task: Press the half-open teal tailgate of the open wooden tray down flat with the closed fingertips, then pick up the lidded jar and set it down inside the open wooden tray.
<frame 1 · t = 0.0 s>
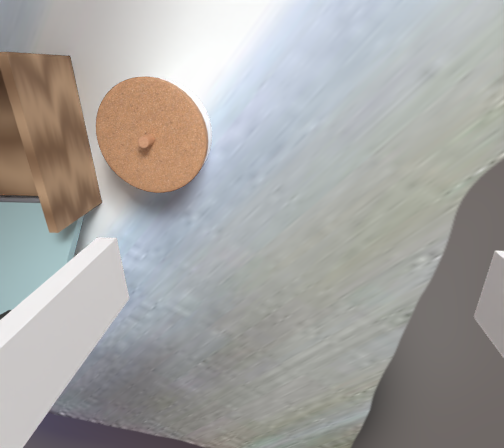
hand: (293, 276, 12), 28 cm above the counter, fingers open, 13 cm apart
lidded jar: (176, 126, 39), on the counter
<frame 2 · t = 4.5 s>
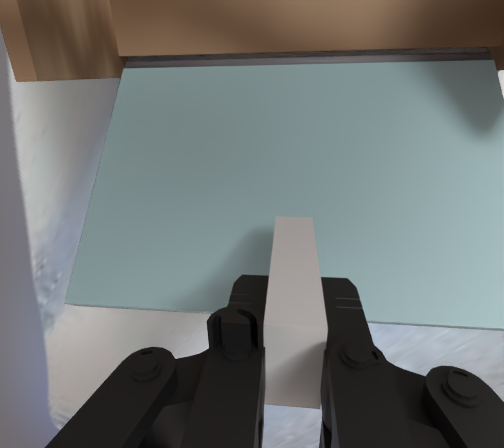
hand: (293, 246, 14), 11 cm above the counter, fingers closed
tailgate: (295, 169, 17), point 6 cm above the counter, hinge at 45.0°, touching gripper
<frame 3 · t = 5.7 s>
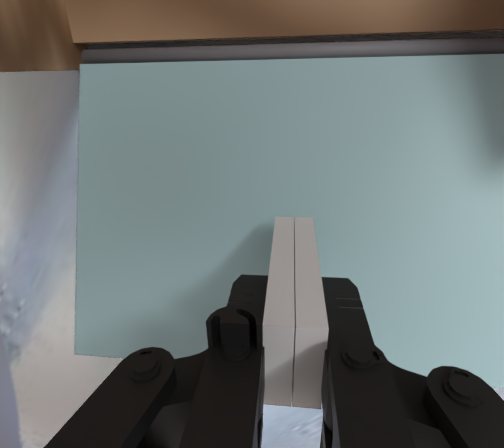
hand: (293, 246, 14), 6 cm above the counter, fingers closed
tailgate: (296, 206, 15), point 4 cm above the counter, hinge at 65.7°, touching gripper
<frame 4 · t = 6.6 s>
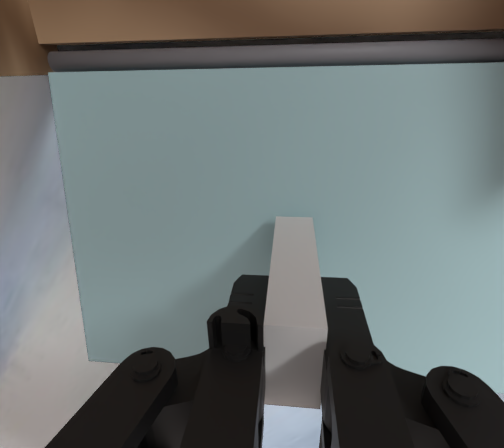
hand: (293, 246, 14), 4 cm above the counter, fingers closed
tailgate: (294, 227, 15), point 2 cm above the counter, hinge at 79.7°, touching gripper
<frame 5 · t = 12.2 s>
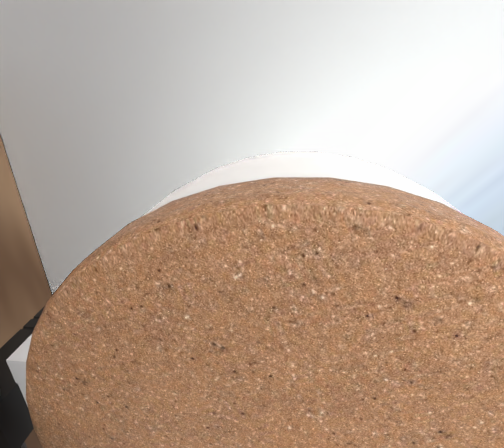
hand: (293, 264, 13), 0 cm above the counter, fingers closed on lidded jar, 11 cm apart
lidded jar: (293, 255, 13), on the counter, touching gripper
when the fingers open (4 cm above the counter, at t = 18.6 s): lidded jar drops 2 cm, resting on open wooden tray.
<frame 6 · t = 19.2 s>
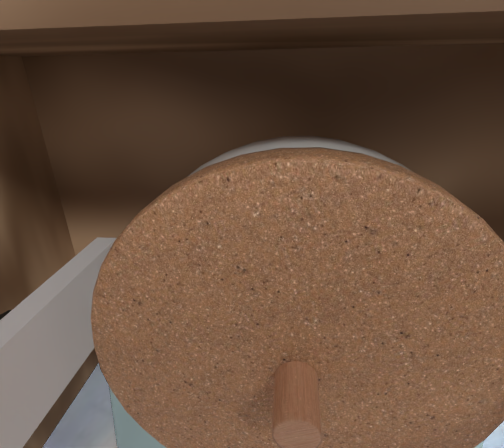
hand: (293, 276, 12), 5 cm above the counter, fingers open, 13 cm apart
lidded jar: (294, 231, 15), point 1 cm above the counter, touching open wooden tray
open wooden tray: (293, 222, 16), on the counter
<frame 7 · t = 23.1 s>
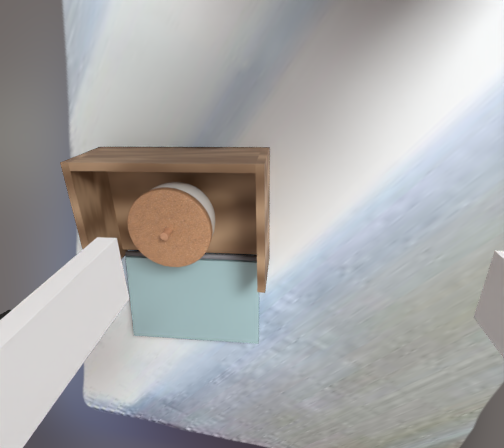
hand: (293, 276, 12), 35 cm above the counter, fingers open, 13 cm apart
lidded jar: (186, 207, 49), point 1 cm above the counter, touching open wooden tray
tailgate: (193, 297, 54), point 2 cm above the counter, hinge at 81.0°
open wooden tray: (188, 204, 50), on the counter
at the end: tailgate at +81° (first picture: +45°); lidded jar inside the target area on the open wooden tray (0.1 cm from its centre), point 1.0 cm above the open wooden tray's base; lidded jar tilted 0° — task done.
